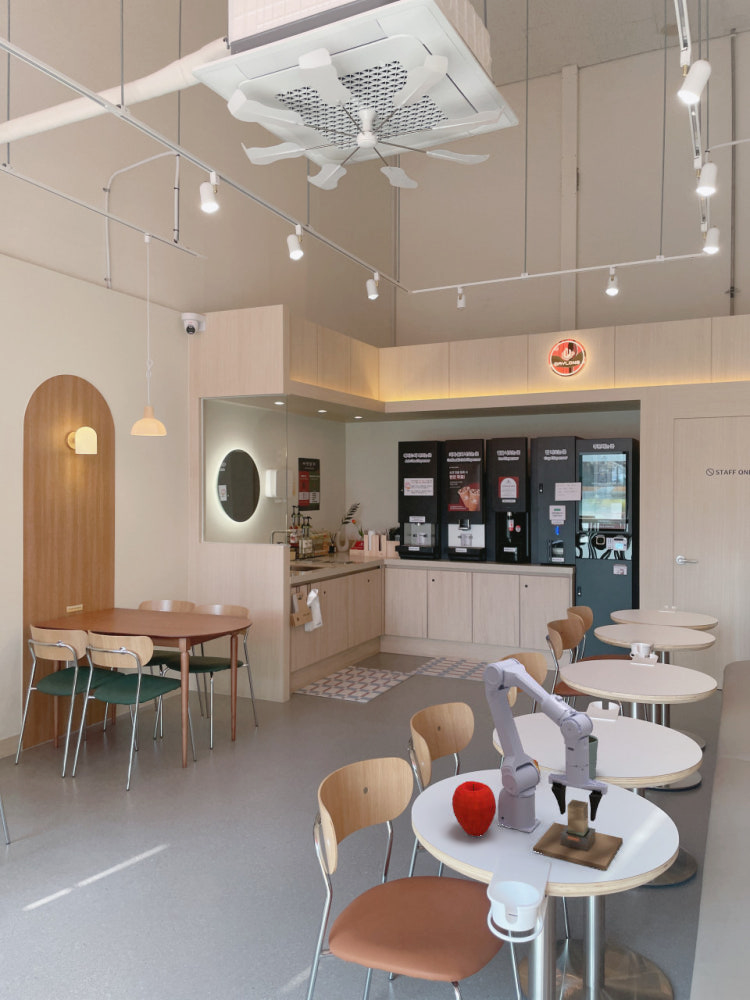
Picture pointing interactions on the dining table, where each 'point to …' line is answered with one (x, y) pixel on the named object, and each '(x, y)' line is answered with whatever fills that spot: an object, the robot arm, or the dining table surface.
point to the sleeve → (578, 839)
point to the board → (595, 857)
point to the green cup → (592, 756)
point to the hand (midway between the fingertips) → (577, 816)
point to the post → (577, 817)
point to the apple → (474, 807)
